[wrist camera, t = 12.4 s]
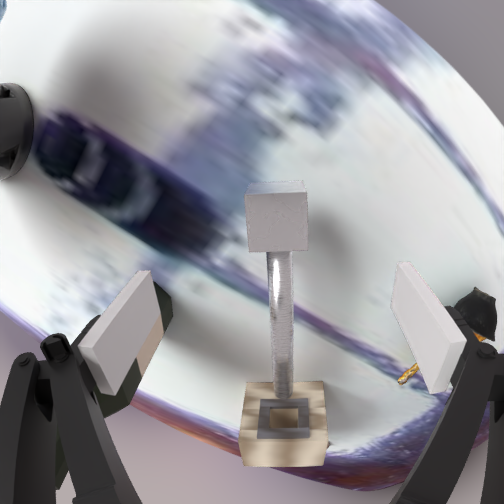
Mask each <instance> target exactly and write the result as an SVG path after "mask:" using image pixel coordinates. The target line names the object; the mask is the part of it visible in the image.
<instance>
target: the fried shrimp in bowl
mask: <svg viewBox="0 0 504 504" xmlns="http://www.w3.org/2000/svg"><path fill="white" fill-rule="evenodd" d="M495 301H496V299H495V298H493V297H492V296H489V295H488V294H487V293H484V292H481V291H480V290H478V289H477V288H476V287H474V290H473V291H472V292H471V293H470V294H468V295H467V296H466V297H464V298H462V299H461V300H459V301H458V303H457V304H456V305H455V307H454V309H455V310H457V311H458V312H459V313H460V314H461V316H462V317H463V320H465V321H466V323H467V325H469V327H470V328H471V330H472V331H473V332H474V334H475V335H476V337H477V338H478V340H479V341H480V342H481V341H483V340H485V339H486V338H487V339H489V340H491V341H495V330H496V325H497V312H496V308H495ZM417 370H419V367H418V364H417V362H416V363H415V364H414V365H413V367H411V368H410V369H408V370H407V371H405V372H404V374H403V375H402V376H401V377H400V378H399V380H398V383H399V385H402V384H404V383H406V382H407V380H408V379H409V378H410V377H412V375H413V374H415V373H416V372H417Z"/></svg>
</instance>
